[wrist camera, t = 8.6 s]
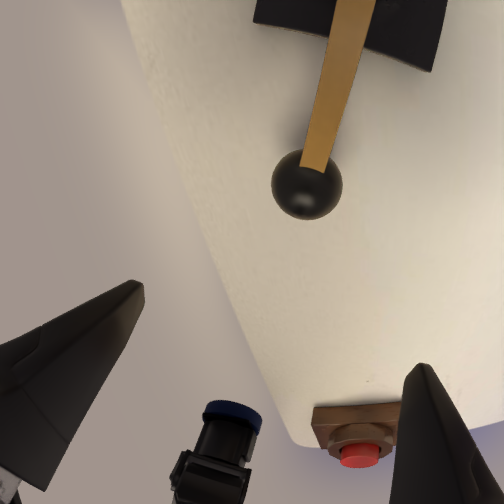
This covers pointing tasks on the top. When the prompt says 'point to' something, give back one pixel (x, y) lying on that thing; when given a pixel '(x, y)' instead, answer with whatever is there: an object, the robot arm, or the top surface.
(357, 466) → the button
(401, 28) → the bracket
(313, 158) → the lever
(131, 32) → the top surface
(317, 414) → the button block
